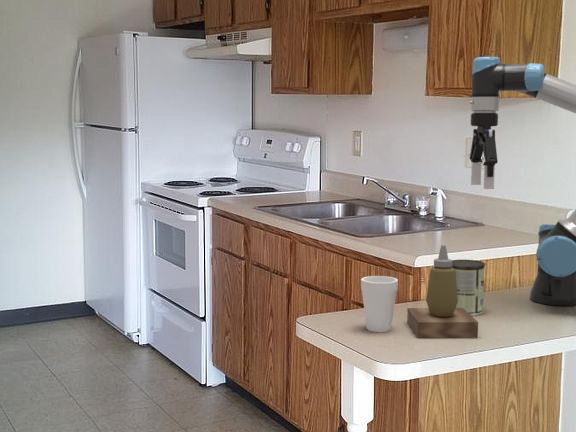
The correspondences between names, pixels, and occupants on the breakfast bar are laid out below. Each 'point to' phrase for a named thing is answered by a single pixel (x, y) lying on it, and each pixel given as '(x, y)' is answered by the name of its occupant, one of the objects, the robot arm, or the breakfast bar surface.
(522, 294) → the breakfast bar surface
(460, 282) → the coffee can
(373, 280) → the foam cup
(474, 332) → the walnut base
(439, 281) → the squeeze bottle
